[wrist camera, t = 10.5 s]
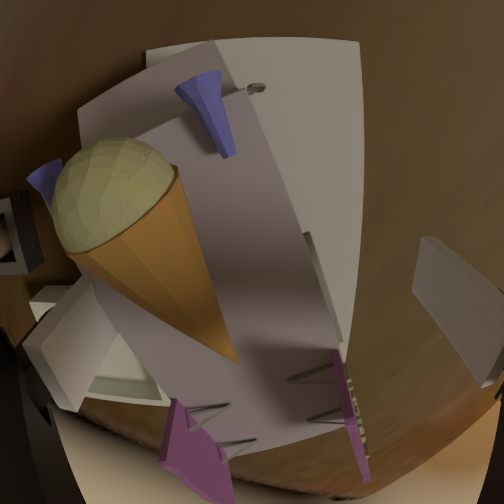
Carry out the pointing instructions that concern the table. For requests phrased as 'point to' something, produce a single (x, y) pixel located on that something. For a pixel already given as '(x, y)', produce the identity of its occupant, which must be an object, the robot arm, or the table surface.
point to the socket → (20, 235)
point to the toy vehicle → (203, 267)
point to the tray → (110, 363)
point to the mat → (310, 141)
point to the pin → (4, 238)
